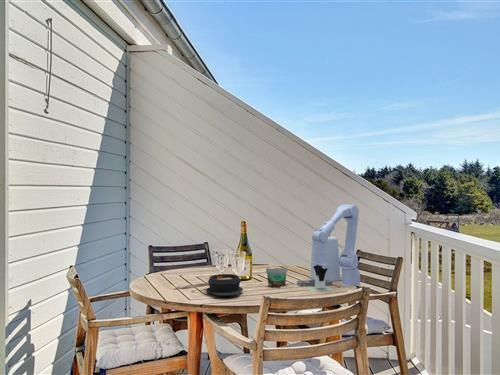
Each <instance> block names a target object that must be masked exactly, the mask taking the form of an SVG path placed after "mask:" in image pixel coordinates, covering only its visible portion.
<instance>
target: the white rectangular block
mask: <svg viewBox="0 0 500 375" xmlns="http://www.w3.org/2000/svg"><path fill="white" fill-rule="evenodd" d="M314 287H316V288H325V287H326V286H325V278H324V281H319V275H315V286H314Z"/></svg>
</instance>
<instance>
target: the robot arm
mask: <svg viewBox="0 0 500 375" xmlns="http://www.w3.org/2000/svg"><path fill="white" fill-rule="evenodd" d="M359 211H360V210H359V208H358V206H357V205H356V204H340V205H338V207H337V208H336V212H335V213H334V214H333V215H332V216H331V218H330V220H328V221H327V220H326V221H324V222H323V224H322V225H321V226H320V228H318V230H316V231H314V232H313V233H312V236H311V238H312V241H314V245H315V261H314V262H313V264H316V266H313V267H314V269H315V272H316V275H319V281H324V278H325V274H326V271H327V269H328V268H327V265H326V241H327V240H328V236H329V234H330V235H331V233H332V232H333V231H334V230H335V226H336V225H337V223H338V222H339V221H340V220H342V219H344V220H345V221H346V222H347V225H346V231H345V233H346V234H345V240H344V249H343V251H341V252H340V254H339V260H338V263H339V265H340V269H341V282H339V281H338V282H339V284H340V285H342V286H345V287H347V286H348V287H349V286H351V287H352V286H354V287H358V286H362V285H361V271H360V269H359V268H357V267H358V265H359V259H358V257H359V255H358V254H357V253H356V252H355V250H356V249H355V247H356V239H357V231H358V223H359Z"/></svg>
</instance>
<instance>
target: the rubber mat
mask: <svg viewBox="0 0 500 375" xmlns="http://www.w3.org/2000/svg"><path fill="white" fill-rule="evenodd" d="M307 289H308V290H310V292H323V291H334V289H333V288H331V287H330V286H325V288H316V287H315V286H308V287H307Z"/></svg>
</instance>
